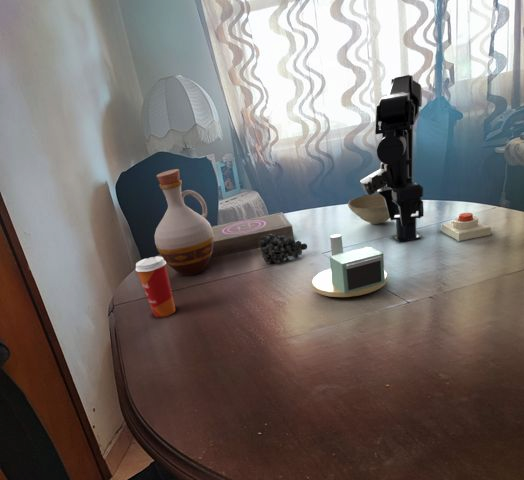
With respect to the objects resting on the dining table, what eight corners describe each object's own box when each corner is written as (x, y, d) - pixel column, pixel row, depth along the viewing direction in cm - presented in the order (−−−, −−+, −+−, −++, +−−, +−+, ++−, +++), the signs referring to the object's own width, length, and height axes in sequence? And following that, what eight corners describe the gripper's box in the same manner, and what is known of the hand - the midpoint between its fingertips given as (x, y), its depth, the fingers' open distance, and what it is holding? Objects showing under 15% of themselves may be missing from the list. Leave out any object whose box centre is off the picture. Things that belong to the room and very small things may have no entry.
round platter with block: (327, 304, 104) (323, 261, 99) (303, 279, 120) (298, 241, 115) (402, 285, 106) (401, 242, 101) (368, 263, 122) (366, 225, 117)
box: (441, 231, 138) (441, 218, 136) (470, 225, 138) (471, 212, 136) (458, 241, 128) (459, 226, 127) (490, 234, 129) (491, 220, 127)
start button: (456, 220, 133) (456, 214, 132) (468, 218, 133) (468, 212, 132) (462, 223, 130) (462, 217, 129) (474, 220, 130) (475, 214, 129)
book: (284, 225, 176) (282, 212, 174) (294, 240, 156) (292, 225, 154) (205, 241, 175) (202, 228, 173) (205, 258, 156) (202, 243, 153)
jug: (201, 256, 158) (179, 164, 144) (235, 262, 146) (215, 162, 132) (154, 277, 147) (125, 179, 133) (186, 285, 135) (158, 178, 121)
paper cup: (152, 309, 123) (136, 259, 116) (180, 304, 123) (166, 253, 116) (148, 321, 116) (131, 269, 109) (178, 315, 116) (163, 262, 109)
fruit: (303, 223, 138) (254, 232, 137) (310, 238, 133) (259, 247, 132) (304, 247, 145) (257, 256, 144) (311, 262, 139) (262, 272, 138)
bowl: (411, 225, 149) (410, 199, 145) (354, 234, 151) (352, 209, 147) (397, 212, 165) (396, 189, 161) (345, 220, 167) (343, 198, 163)
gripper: (352, 158, 118) (356, 219, 125) (374, 168, 101) (377, 237, 109) (395, 150, 118) (397, 211, 125) (424, 158, 101) (424, 228, 109)
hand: (397, 221), depth 117 cm, fingers open, 9 cm apart
